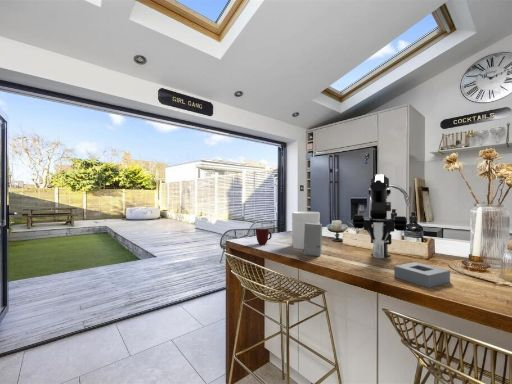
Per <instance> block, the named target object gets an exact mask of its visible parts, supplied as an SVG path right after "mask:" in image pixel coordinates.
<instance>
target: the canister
mask: <svg viewBox="0 0 512 384" xmlns="http://www.w3.org/2000/svg"><path fill="white" fill-rule="evenodd" d="M320 215H321V214H320V212H319V211H292V212H291V246H293V247H292V248H294V249H298V250H304V232H305V223H316V224H321V223H320V218H321V217H320Z"/></svg>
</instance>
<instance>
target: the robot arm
mask: <svg viewBox="0 0 512 384" xmlns="http://www.w3.org/2000/svg"><path fill="white" fill-rule="evenodd" d="M391 192H392V191H391V189H390V179H389V177H387V176H386V174H384V173H376V174H373V177H372V178H371V179H370V186H369V189H368V196H369V197H370V198H371V202H370V211H369V212H370V213H369V215H370V217H369V216H364V215H363V214H353V216H352V217H351V219H352V226H353V228H354V229H363V230H364V231H366V232H367V233H368V235H369V236H370V243H371V244H373V222H383V227H384V258H387V257H391V254H388V245H391V244H392V234H391V233H393V232H395V231H399V232H400V231H401V232H405V231H407V227H408V226H407V225H408V224H407V223H408V219H407V217H406V216H403V215H402V216H401V215H394V219H389V218H388V212H391V211H392V203H391V201H387V199H388V197H390V195H391ZM370 255H371V256H373V252H372V253H370Z"/></svg>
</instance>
